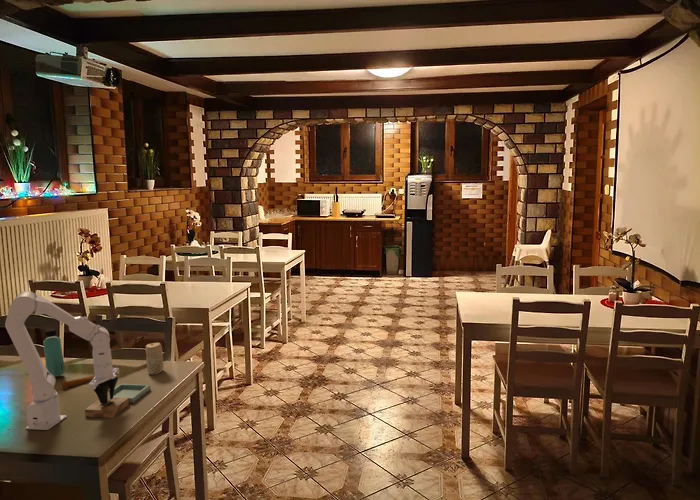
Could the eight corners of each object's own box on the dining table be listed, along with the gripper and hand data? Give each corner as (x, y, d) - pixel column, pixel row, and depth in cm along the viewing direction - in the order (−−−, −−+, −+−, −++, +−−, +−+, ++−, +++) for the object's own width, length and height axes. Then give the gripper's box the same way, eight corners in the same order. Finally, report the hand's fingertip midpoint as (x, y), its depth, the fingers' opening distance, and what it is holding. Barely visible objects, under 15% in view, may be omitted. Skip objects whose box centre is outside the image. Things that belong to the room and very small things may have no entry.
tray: (133, 403, 191) (132, 398, 190) (102, 402, 193) (101, 397, 192) (150, 389, 202) (150, 384, 202) (121, 388, 204) (120, 383, 204)
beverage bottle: (64, 378, 216) (59, 330, 213) (45, 381, 214) (39, 333, 211) (66, 373, 222) (61, 326, 219) (48, 375, 220) (42, 328, 217)
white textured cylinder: (145, 376, 216) (142, 347, 214) (150, 369, 224) (147, 341, 222) (161, 375, 217) (158, 346, 215) (166, 368, 224) (163, 340, 222)
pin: (109, 412, 184) (106, 390, 183) (101, 412, 185) (98, 390, 183) (114, 408, 187) (112, 386, 186) (106, 408, 188) (104, 386, 186)
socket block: (112, 417, 180) (111, 410, 180) (85, 416, 182) (84, 409, 181) (129, 404, 190) (128, 397, 190) (103, 403, 191) (102, 397, 191)
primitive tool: (109, 373, 222) (108, 365, 221) (115, 376, 218) (115, 368, 218) (60, 389, 207) (59, 380, 207) (67, 392, 204) (66, 383, 203)
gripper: (100, 371, 176) (104, 410, 178) (125, 356, 190) (129, 392, 192) (81, 371, 177) (85, 410, 179) (107, 355, 191) (110, 392, 193)
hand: (106, 401), depth 185 cm, fingers closed on pin, 3 cm apart
